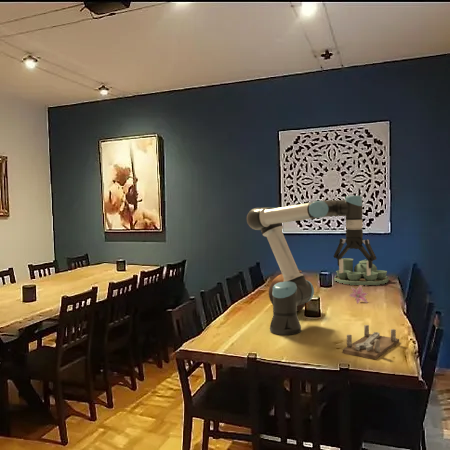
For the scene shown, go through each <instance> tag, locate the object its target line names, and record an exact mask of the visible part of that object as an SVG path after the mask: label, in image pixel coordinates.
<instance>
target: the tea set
mask: <svg viewBox="0 0 450 450" xmlns="http://www.w3.org/2000/svg"><path fill="white" fill-rule="evenodd" d="M342 259H343V273H339V269H338V270H336V271H335V272H336V275H334V278H333V279H334V282H335V281H337V282H339V283H338V284H340V283H344V284H350V285H349V286H352V285H376V286H381V285H380V284H382V285H386V284H387V283H388V282H389V280H390V277H388V276H387V274H388V271H387V270H381V269H378V267H377V266H376V265H375V264H374V263H372V268H371V275H369V276H367V261H368V260H367V258H366V259H362V260H360V261H358V263H356V264H355V265H354V264H353V263H354V258H347V257H346V258H345V257H344V258H343V257H342ZM337 282H336V283H337ZM385 283H386V284H385ZM344 284H343V285H344Z"/></svg>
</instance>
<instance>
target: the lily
mask: <svg viewBox="0 0 450 450" xmlns="http://www.w3.org/2000/svg"><path fill="white" fill-rule="evenodd" d="M350 288H351V290H352V292H351V293H349V295H348V296H349V297H350V298H353V299H354V298H355V299H354V301H355V302H356V304H359V303H360V302H361V301H362V302H364V303H366V304H368V303H369V302H368V300H367V298H366V296H368V293H367V292H365V291H364V289H363V286H361V285H360V286H357V288H355V287H352V286H350Z"/></svg>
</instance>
